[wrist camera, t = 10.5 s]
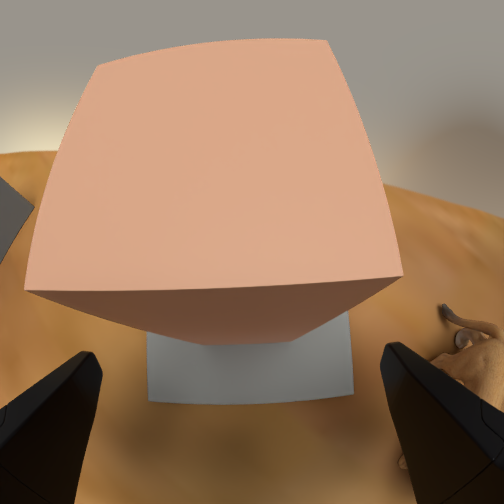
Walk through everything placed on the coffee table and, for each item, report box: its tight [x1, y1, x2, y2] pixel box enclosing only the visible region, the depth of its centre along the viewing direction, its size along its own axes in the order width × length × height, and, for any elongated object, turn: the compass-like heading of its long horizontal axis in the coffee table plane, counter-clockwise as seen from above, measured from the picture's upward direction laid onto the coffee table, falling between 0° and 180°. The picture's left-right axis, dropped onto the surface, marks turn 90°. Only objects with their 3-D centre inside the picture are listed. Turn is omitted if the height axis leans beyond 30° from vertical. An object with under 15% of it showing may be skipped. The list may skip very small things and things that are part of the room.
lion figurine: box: [398, 304, 504, 469], centre depth 10 cm, size 15×5×9 cm, turn 176°
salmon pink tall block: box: [24, 39, 403, 345], centre depth 11 cm, size 5×5×14 cm
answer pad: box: [147, 311, 354, 405], centre depth 17 cm, size 12×12×1 cm
